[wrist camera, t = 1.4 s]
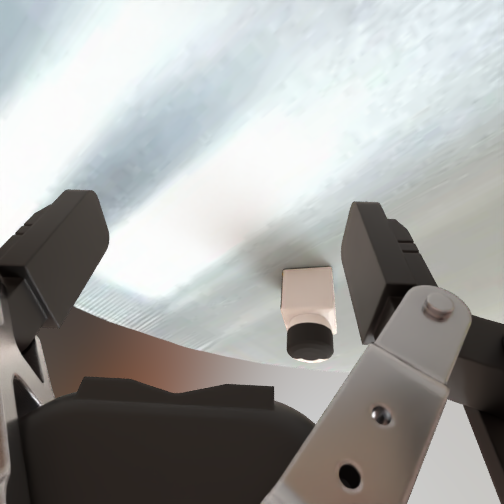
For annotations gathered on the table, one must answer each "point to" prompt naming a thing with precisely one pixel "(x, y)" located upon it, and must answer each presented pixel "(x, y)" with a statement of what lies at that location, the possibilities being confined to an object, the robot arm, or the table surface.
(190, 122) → the table surface
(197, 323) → the table surface
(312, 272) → the medicine bottle
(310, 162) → the table surface
